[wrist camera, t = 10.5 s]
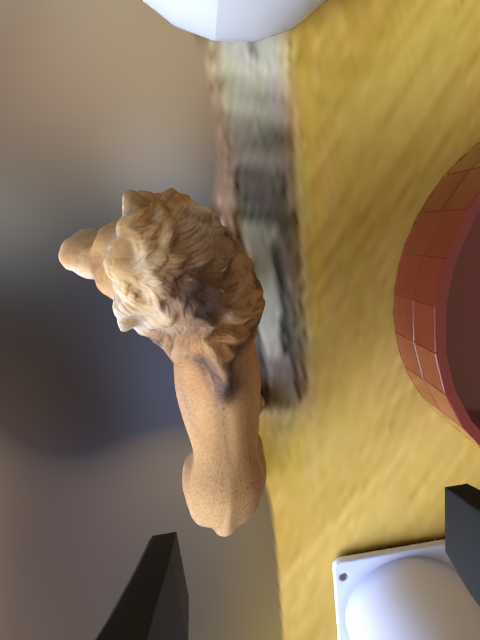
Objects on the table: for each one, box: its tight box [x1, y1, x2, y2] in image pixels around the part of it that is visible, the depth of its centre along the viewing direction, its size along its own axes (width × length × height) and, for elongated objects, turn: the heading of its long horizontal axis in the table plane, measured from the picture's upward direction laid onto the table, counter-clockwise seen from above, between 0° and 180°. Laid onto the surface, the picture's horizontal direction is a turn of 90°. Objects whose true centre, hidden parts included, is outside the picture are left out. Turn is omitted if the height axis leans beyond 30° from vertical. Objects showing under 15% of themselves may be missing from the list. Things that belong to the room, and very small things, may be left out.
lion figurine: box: [59, 188, 266, 537], centre depth 14 cm, size 15×5×9 cm, turn 15°
